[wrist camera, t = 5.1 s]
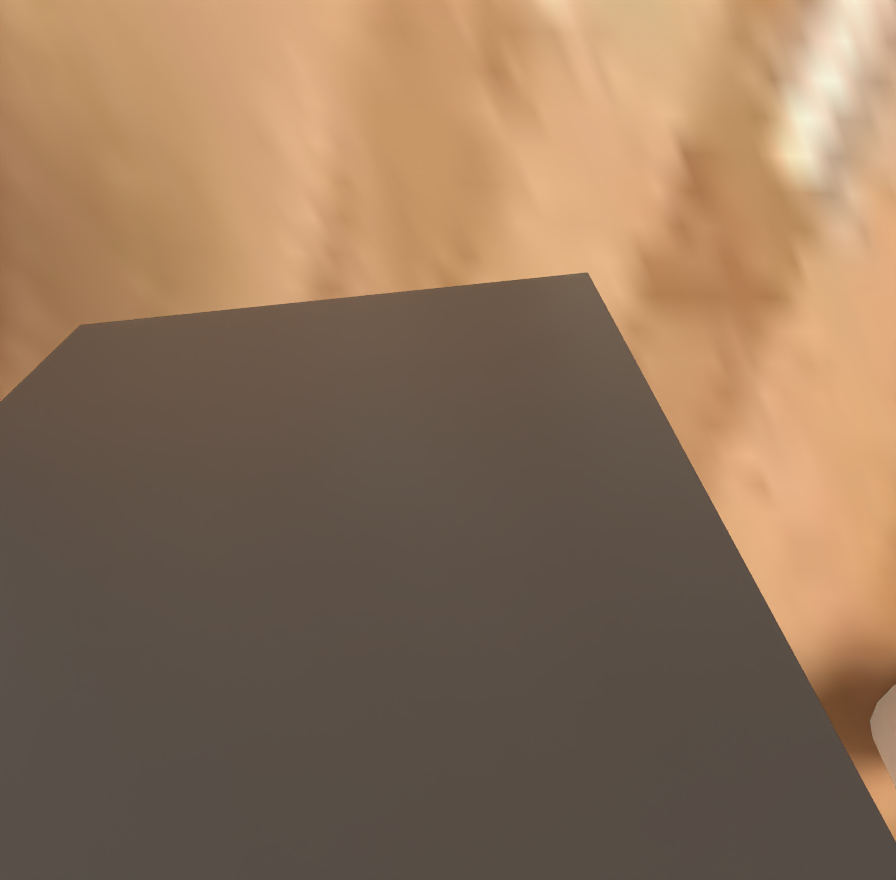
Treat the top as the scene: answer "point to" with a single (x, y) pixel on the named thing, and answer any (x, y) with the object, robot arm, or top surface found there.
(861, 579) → the top surface
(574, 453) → the grey rectangular block
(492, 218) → the top surface
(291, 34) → the top surface
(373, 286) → the top surface
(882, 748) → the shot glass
